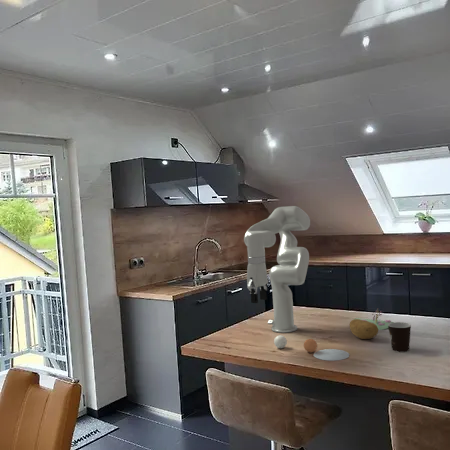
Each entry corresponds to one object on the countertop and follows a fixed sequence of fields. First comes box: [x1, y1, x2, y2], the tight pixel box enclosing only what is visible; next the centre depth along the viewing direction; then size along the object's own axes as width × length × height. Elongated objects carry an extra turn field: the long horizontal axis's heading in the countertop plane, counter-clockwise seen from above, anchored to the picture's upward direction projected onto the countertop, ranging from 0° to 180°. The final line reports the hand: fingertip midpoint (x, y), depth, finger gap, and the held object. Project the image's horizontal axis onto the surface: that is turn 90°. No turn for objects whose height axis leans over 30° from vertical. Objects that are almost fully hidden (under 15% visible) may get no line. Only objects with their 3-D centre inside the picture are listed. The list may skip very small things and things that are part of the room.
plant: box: [352, 309, 394, 331], centre depth 235 cm, size 25×21×9 cm
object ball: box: [303, 338, 318, 353], centre depth 196 cm, size 5×5×5 cm
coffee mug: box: [387, 321, 412, 353], centre depth 193 cm, size 12×9×10 cm
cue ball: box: [273, 334, 288, 349], centre depth 204 cm, size 5×5×5 cm
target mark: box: [313, 348, 350, 362], centre depth 191 cm, size 14×14×1 cm
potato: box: [349, 318, 379, 340], centre depth 210 cm, size 10×14×8 cm
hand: (259, 300), depth 209 cm, fingers open, 6 cm apart
